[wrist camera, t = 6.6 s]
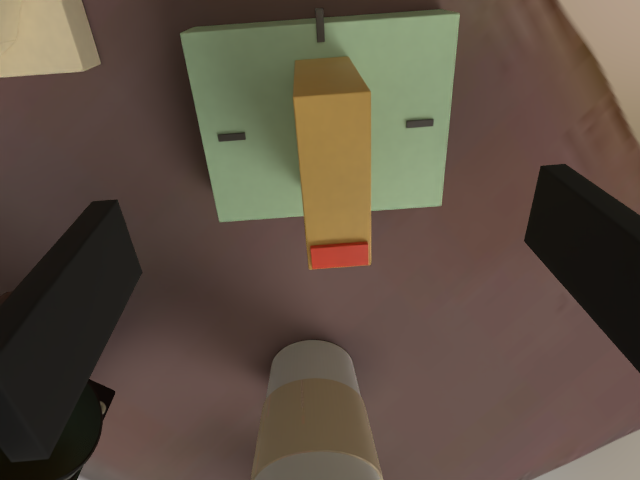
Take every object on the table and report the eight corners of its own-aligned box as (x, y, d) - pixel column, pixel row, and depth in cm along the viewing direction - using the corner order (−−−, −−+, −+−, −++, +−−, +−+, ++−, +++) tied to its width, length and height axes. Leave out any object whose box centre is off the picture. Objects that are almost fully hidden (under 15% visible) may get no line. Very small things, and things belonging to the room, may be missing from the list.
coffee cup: (338, 414, 39) (357, 626, 26) (243, 390, 37) (213, 609, 24) (385, 347, 35) (435, 560, 22) (281, 315, 33) (269, 532, 20)
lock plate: (227, 208, 28) (220, 232, 25) (190, 13, 22) (175, 18, 19) (427, 193, 28) (441, 216, 25) (443, -5, 22) (462, -2, 19)
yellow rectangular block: (294, 60, 21) (292, 98, 14) (348, 55, 21) (372, 92, 14) (306, 193, 24) (308, 273, 18) (352, 189, 24) (372, 268, 18)
